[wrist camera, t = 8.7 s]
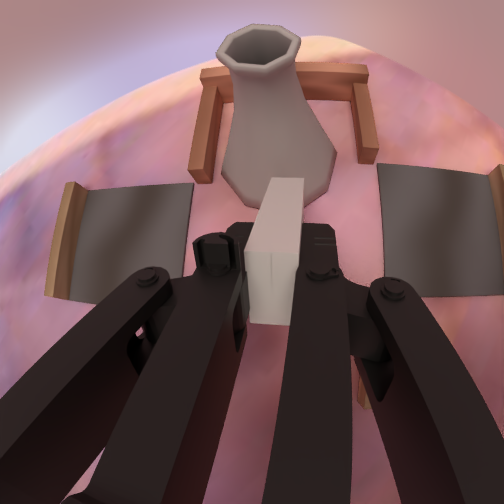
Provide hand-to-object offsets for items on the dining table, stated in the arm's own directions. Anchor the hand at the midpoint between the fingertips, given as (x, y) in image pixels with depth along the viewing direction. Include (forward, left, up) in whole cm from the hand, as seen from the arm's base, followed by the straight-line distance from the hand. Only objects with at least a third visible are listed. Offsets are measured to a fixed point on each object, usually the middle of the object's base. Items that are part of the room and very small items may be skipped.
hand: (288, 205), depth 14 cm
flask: (+1, -5, -4) cm, 6 cm away
